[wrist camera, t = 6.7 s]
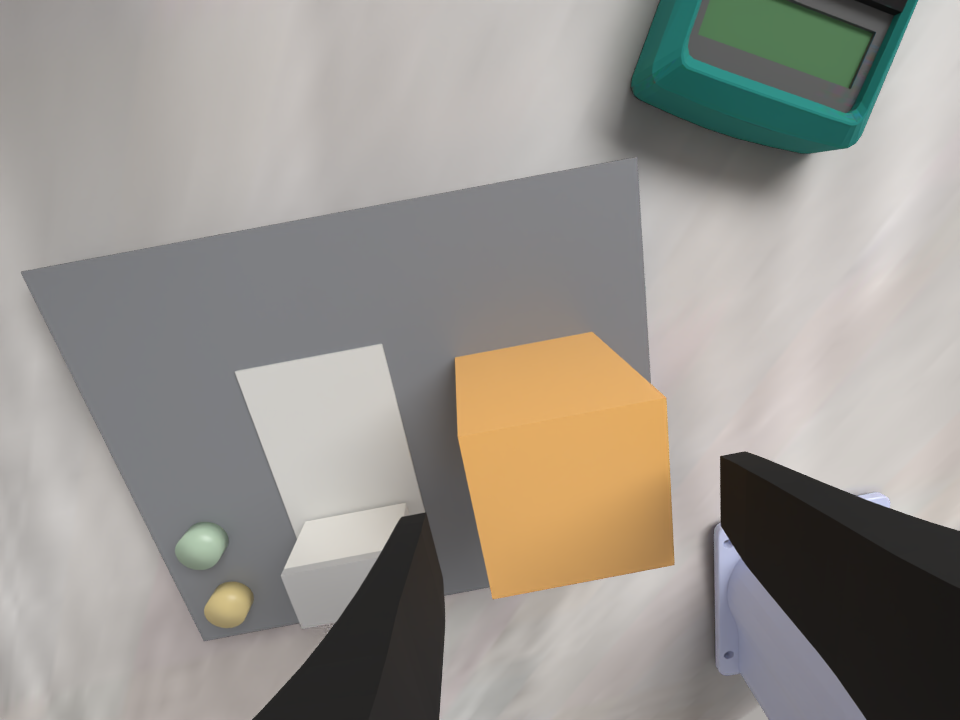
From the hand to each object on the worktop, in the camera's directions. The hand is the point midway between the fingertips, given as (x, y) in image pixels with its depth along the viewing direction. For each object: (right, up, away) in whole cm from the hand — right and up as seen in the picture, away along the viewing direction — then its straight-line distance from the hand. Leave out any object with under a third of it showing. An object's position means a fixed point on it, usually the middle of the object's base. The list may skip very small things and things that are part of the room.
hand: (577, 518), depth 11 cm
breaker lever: (-7, -3, +7) cm, 11 cm away
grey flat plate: (-6, +1, +8) cm, 10 cm away
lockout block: (0, +2, +6) cm, 7 cm away
